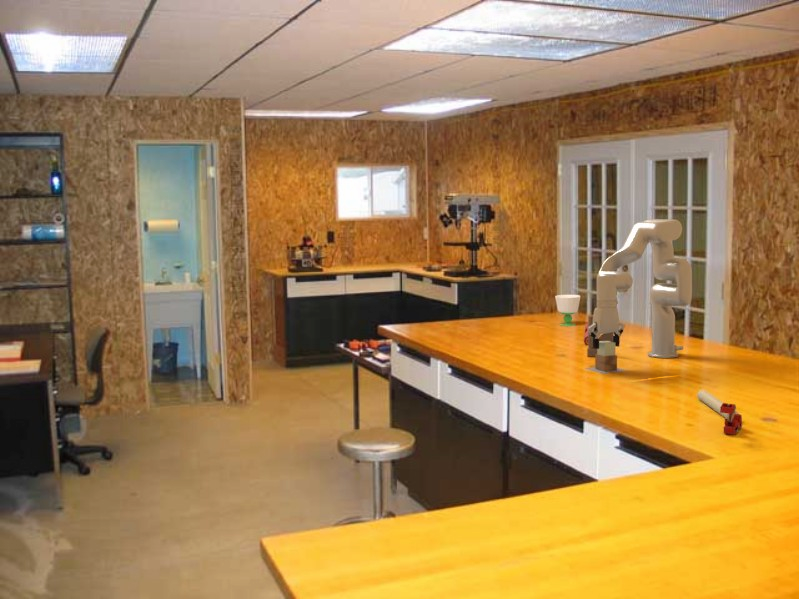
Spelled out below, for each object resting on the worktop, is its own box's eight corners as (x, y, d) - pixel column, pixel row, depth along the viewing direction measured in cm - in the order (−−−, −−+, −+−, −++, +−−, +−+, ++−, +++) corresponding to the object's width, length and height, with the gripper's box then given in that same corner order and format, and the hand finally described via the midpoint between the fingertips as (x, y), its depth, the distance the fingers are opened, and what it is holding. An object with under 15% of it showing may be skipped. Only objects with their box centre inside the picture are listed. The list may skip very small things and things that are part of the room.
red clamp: (742, 427, 248) (743, 396, 247) (731, 439, 236) (732, 406, 235) (731, 426, 250) (731, 394, 248) (719, 437, 238) (720, 404, 237)
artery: (594, 346, 390) (594, 335, 389) (583, 346, 391) (583, 335, 390) (594, 332, 430) (594, 322, 430) (584, 332, 431) (584, 322, 431)
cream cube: (607, 353, 334) (607, 340, 334) (615, 355, 330) (615, 342, 329) (597, 354, 332) (597, 341, 332) (605, 356, 328) (605, 343, 327)
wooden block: (612, 357, 359) (612, 316, 357) (587, 356, 363) (587, 316, 361) (613, 356, 363) (613, 315, 360) (588, 355, 367) (588, 314, 365)
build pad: (609, 367, 339) (609, 365, 339) (627, 372, 328) (627, 370, 328) (584, 370, 335) (584, 368, 335) (602, 375, 324) (602, 373, 324)
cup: (555, 326, 450) (555, 297, 448) (554, 322, 463) (554, 294, 461) (581, 326, 447) (581, 297, 445) (579, 322, 461) (580, 294, 459)
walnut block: (607, 367, 336) (607, 352, 335) (616, 370, 330) (617, 355, 329) (595, 368, 333) (595, 354, 333) (604, 371, 328) (604, 356, 327)
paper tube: (729, 424, 253) (729, 412, 253) (696, 400, 283) (696, 389, 282) (741, 423, 253) (742, 412, 253) (707, 400, 283) (707, 389, 282)
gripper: (618, 302, 335) (618, 343, 337) (582, 305, 329) (582, 347, 331) (630, 304, 328) (629, 346, 330) (593, 307, 322) (593, 350, 324)
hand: (606, 347), depth 331 cm, fingers open, 9 cm apart
